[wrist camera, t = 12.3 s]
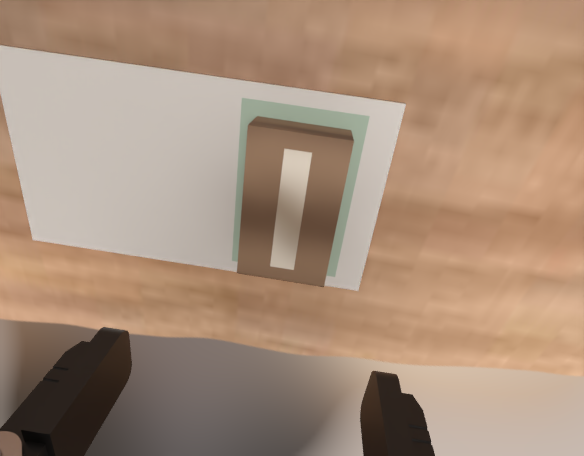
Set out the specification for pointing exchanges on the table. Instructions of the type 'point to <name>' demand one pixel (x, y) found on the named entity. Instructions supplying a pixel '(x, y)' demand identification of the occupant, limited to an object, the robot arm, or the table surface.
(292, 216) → the walnut tile
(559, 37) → the table surface
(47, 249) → the table surface
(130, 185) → the white flat board
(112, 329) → the robot arm
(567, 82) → the table surface
